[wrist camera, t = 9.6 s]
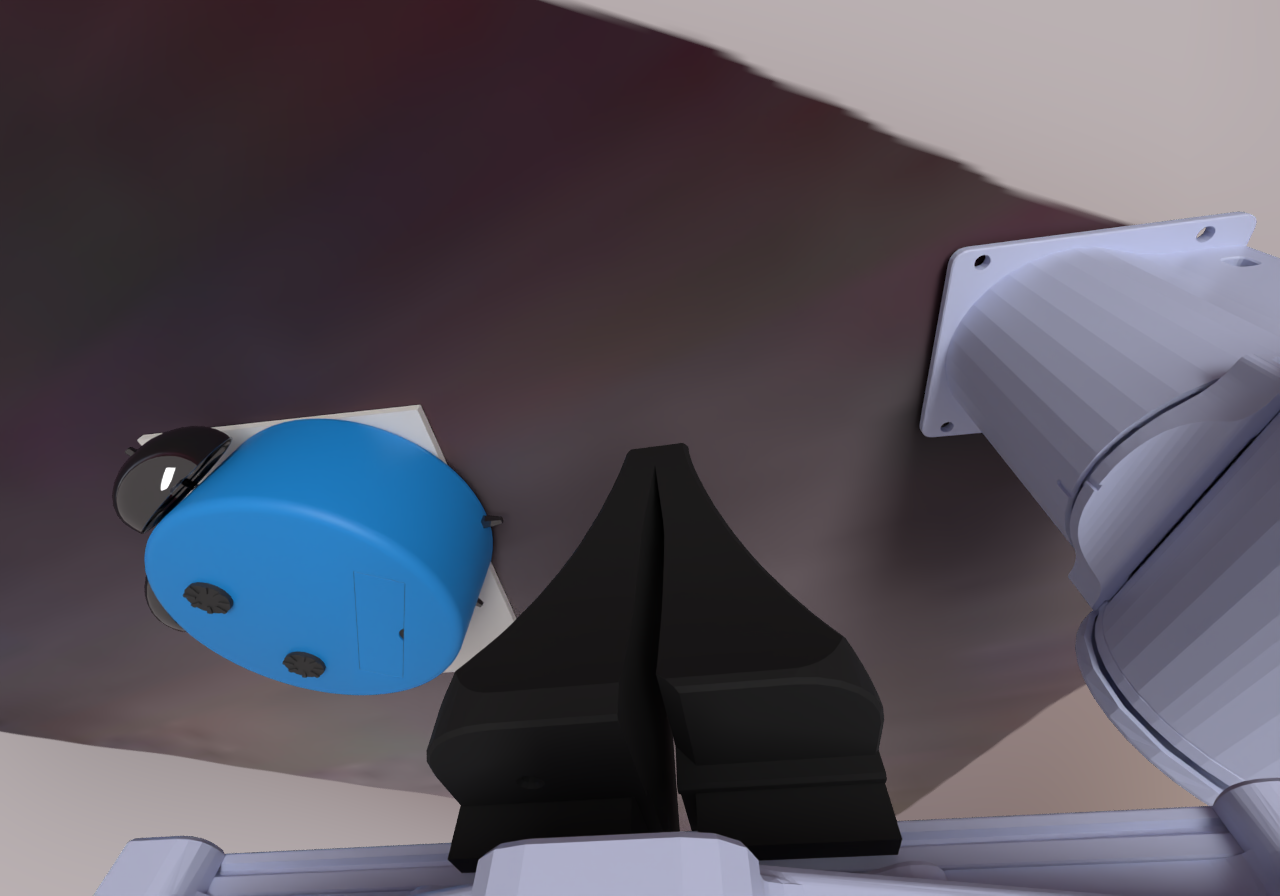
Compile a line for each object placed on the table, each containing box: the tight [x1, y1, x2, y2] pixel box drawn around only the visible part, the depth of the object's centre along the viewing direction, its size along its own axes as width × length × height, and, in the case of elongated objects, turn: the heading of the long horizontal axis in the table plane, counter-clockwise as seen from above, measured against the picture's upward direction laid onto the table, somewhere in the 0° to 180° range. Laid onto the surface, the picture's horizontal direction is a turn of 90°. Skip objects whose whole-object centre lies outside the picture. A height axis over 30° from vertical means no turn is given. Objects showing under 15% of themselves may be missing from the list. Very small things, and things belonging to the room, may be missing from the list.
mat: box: [137, 405, 517, 672], centre depth 31 cm, size 14×20×1 cm
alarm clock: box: [112, 419, 503, 695], centre depth 26 cm, size 13×6×15 cm
